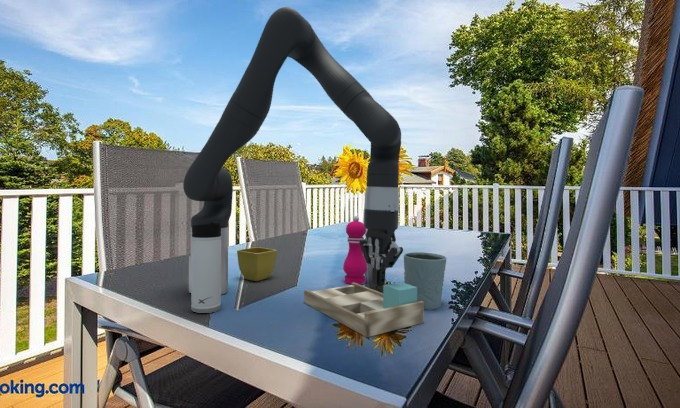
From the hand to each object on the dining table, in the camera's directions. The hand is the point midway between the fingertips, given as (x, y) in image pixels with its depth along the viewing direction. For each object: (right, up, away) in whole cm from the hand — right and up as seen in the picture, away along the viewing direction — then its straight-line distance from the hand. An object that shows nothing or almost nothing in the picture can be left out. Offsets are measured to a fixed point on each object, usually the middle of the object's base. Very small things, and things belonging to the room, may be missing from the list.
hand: (378, 285), depth 81 cm
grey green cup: (+12, -7, +8) cm, 16 cm away
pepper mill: (-4, -6, +28) cm, 29 cm away
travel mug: (-39, -6, +1) cm, 39 cm away
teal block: (+4, -4, -4) cm, 7 cm away
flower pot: (-34, -5, +30) cm, 46 cm away
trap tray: (-4, -6, +1) cm, 8 cm away
